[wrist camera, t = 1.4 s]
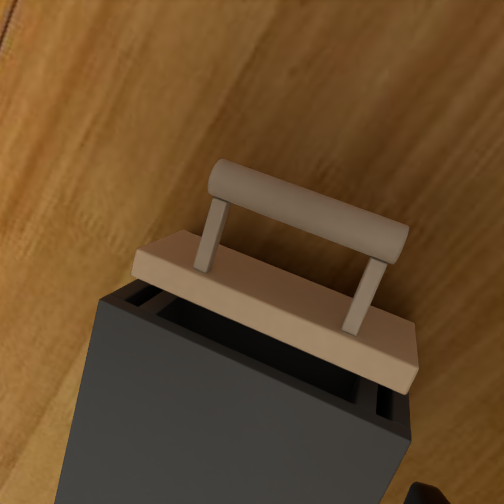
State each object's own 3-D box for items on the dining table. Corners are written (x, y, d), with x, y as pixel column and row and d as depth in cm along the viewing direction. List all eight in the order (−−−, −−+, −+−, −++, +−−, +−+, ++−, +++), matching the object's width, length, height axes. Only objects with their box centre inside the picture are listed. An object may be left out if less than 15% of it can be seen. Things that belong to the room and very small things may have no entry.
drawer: (206, 139, 20) (160, 139, 16) (459, 229, 18) (477, 254, 14) (123, 447, 26) (73, 503, 22) (309, 545, 24) (292, 626, 20)
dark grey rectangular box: (168, 261, 23) (98, 299, 18) (407, 362, 21) (412, 441, 15) (111, 475, 28) (41, 557, 22) (302, 578, 25) (277, 699, 20)
